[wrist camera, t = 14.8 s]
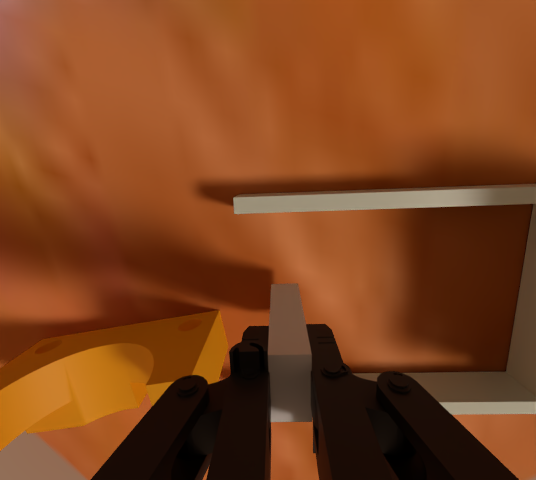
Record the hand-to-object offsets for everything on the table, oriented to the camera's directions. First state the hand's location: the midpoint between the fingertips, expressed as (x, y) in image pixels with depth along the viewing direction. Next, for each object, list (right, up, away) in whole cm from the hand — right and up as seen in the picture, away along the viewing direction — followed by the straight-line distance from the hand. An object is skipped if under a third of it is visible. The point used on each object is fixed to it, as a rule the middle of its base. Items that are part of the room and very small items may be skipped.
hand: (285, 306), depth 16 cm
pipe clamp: (-9, -4, +3) cm, 11 cm away
